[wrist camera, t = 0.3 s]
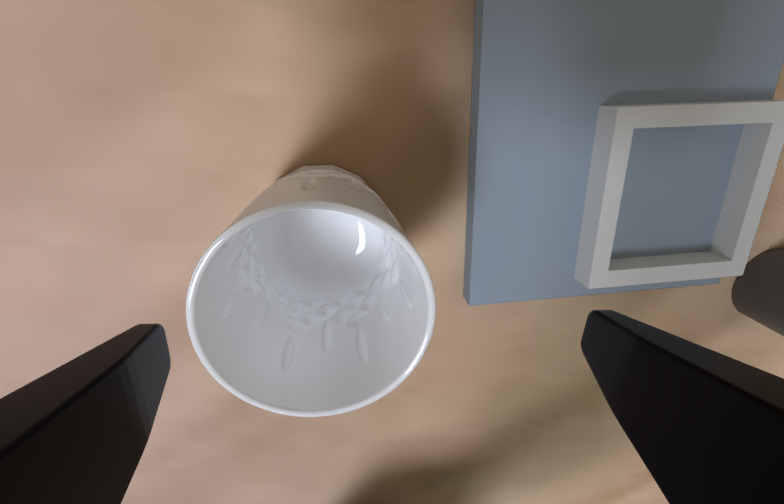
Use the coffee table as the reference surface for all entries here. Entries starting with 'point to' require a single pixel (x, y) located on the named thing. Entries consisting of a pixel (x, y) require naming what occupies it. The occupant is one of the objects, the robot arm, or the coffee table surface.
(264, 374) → the white cup
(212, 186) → the coffee table surface
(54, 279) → the coffee table surface
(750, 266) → the grey tall cup
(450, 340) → the coffee table surface
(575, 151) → the grey base plate
